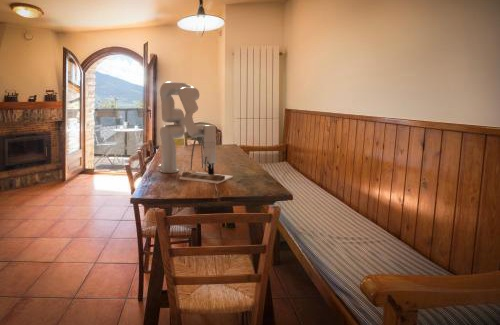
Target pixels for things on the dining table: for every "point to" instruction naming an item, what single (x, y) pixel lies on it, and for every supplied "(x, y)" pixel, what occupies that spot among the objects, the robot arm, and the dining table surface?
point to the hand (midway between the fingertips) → (211, 174)
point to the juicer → (200, 140)
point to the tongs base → (201, 176)
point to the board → (207, 180)
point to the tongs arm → (211, 174)
